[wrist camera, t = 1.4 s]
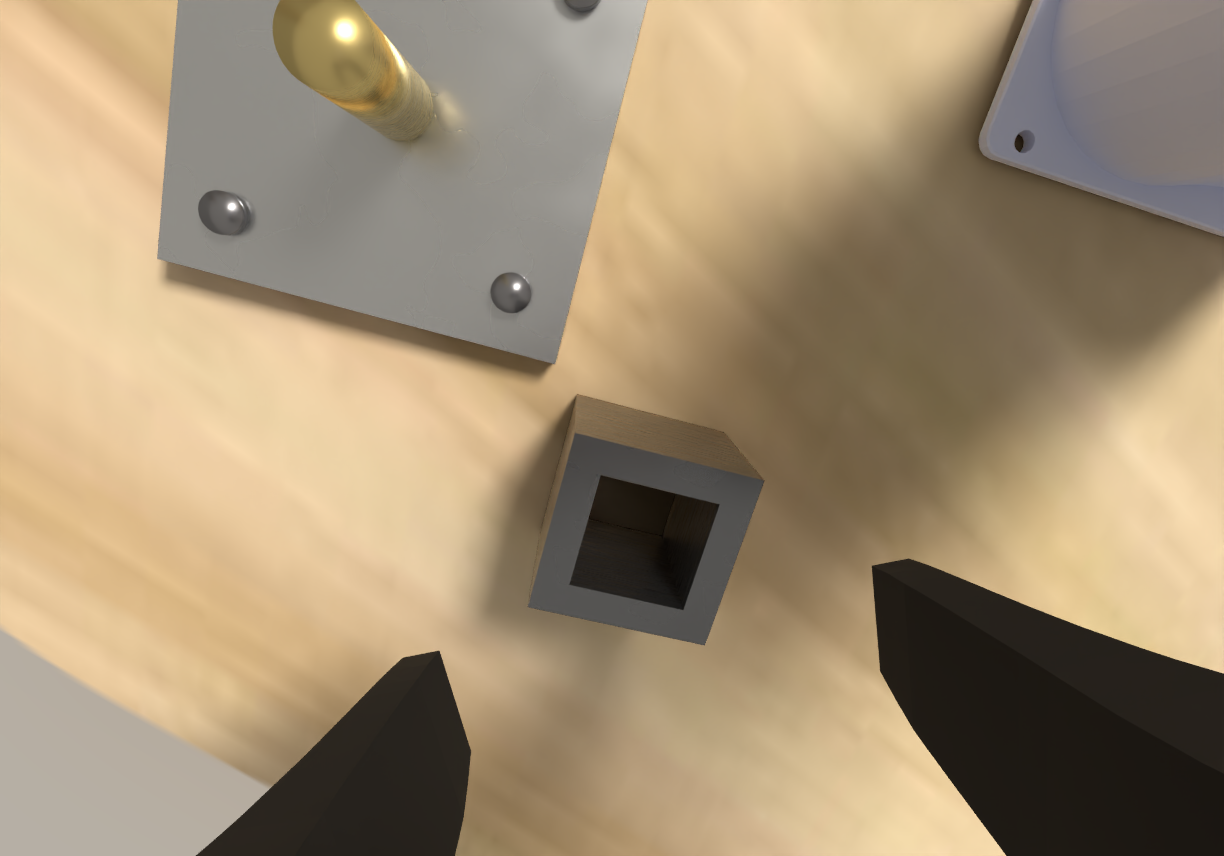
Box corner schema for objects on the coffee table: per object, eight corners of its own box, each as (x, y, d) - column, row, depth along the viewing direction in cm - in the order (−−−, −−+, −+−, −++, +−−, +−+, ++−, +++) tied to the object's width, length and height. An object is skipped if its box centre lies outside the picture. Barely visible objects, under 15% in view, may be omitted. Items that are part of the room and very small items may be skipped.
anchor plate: (659, -48, 14) (699, -213, 9) (556, 359, 16) (544, 398, 12) (219, -204, 13) (0, -486, 8) (178, 259, 15) (-9, 256, 10)
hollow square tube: (723, 432, 17) (764, 480, 13) (679, 565, 18) (704, 645, 14) (577, 394, 17) (574, 432, 13) (539, 533, 18) (528, 606, 14)
